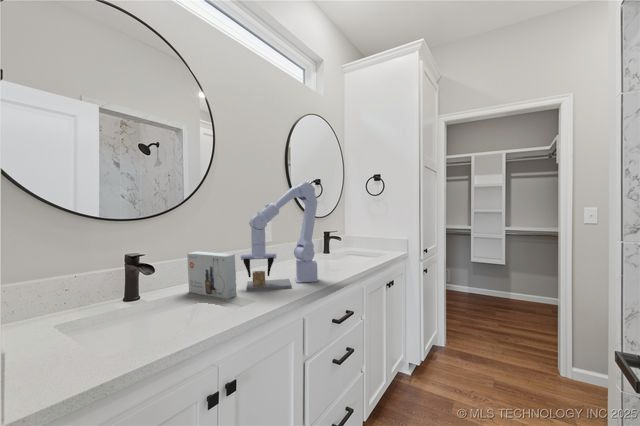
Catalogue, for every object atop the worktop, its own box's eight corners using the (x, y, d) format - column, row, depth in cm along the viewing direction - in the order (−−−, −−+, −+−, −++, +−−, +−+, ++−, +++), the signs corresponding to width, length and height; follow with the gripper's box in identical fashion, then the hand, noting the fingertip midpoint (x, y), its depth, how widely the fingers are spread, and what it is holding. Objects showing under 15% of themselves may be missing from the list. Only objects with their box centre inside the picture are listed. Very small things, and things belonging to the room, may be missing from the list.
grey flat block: (289, 281, 131) (288, 266, 131) (291, 288, 119) (291, 271, 119) (247, 284, 127) (247, 268, 127) (246, 291, 115) (245, 274, 115)
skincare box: (187, 292, 115) (186, 252, 115) (198, 289, 120) (197, 251, 120) (226, 299, 106) (225, 255, 105) (237, 295, 110) (236, 253, 110)
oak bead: (265, 282, 125) (264, 270, 125) (265, 285, 120) (265, 273, 120) (253, 283, 124) (253, 271, 124) (252, 285, 119) (252, 273, 119)
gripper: (239, 245, 117) (240, 279, 117) (276, 244, 120) (277, 277, 120) (241, 243, 124) (241, 275, 124) (275, 242, 127) (276, 273, 127)
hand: (259, 276), depth 122 cm, fingers open, 7 cm apart
